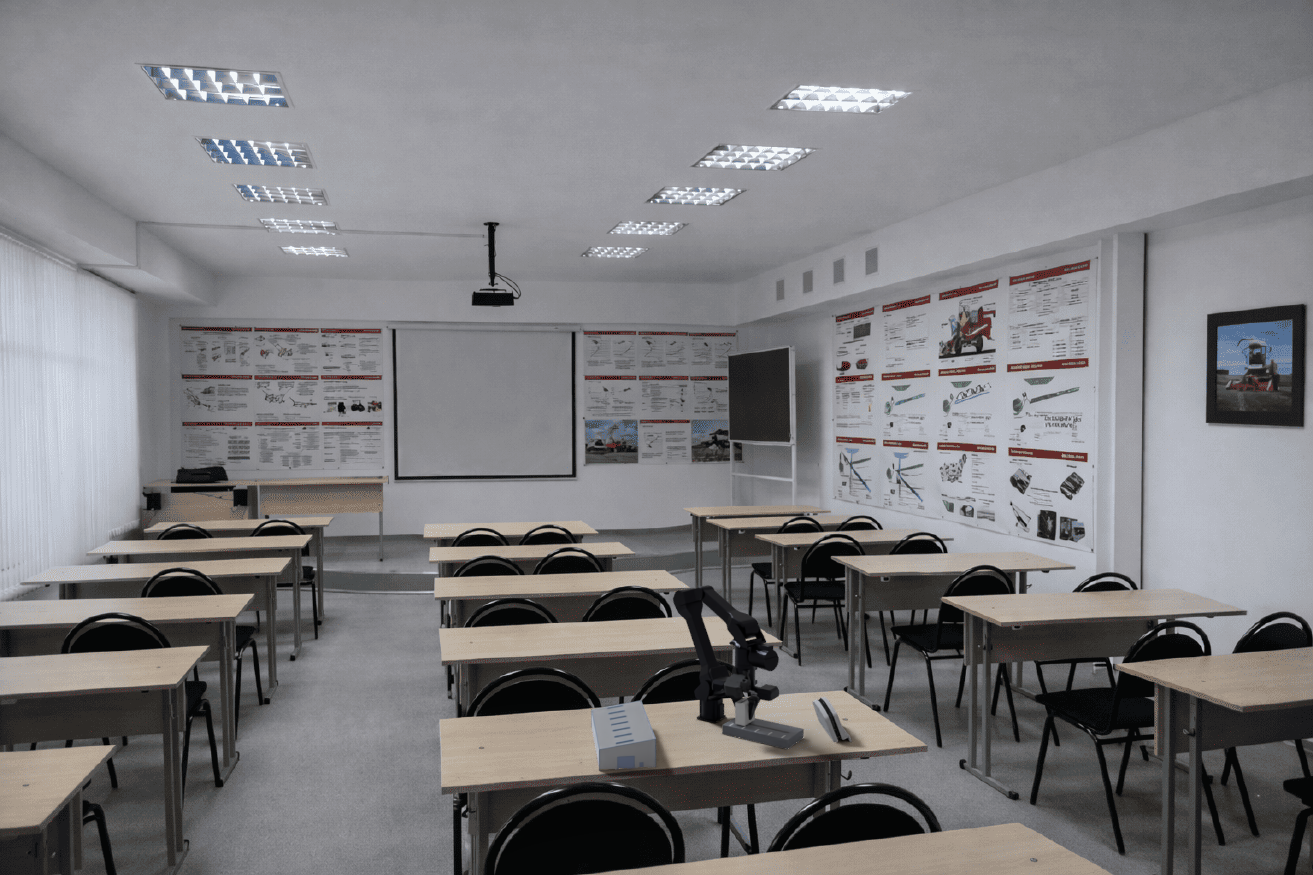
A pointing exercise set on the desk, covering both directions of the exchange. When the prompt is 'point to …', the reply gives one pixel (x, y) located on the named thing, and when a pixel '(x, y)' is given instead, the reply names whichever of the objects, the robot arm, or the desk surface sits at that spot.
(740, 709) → the fader knob
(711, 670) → the robot arm
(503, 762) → the desk surface
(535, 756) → the desk surface
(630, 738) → the warehouse
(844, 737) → the grey curved piece
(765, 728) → the fader board
